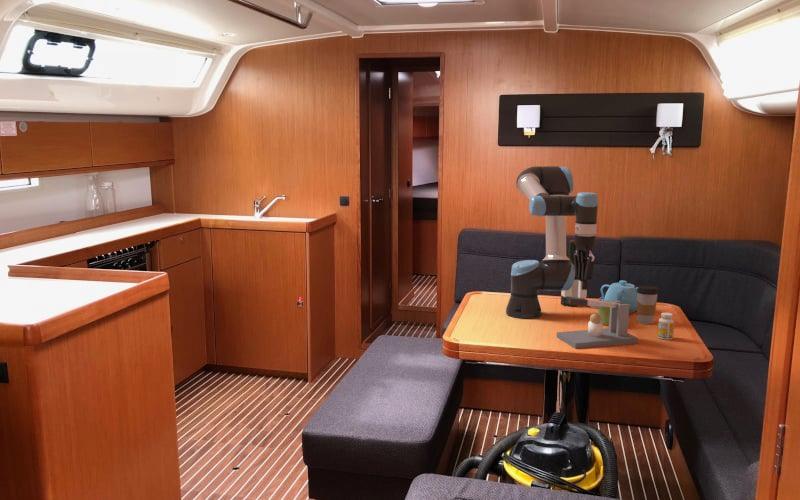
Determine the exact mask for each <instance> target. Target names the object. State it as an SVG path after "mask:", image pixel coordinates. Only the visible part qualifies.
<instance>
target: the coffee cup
mask: <svg viewBox="0 0 800 500" xmlns="http://www.w3.org/2000/svg"><path fill="white" fill-rule="evenodd" d="M637 287H638V289H637V310H636V315H637V319H636V320H637V322H638V323H639V324H642V325H643V324H644V325H651V324H652V325H653V323H654V322H655V321H654V320H655V315H656V308H657V303H658V295H659V291H658V287H657V286H654V285H649V284H648V285H646V284H645V285H644V284H641V285H638V286H637Z"/></svg>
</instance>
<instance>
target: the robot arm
mask: <svg viewBox="0 0 800 500" xmlns="http://www.w3.org/2000/svg"><path fill="white" fill-rule="evenodd" d="M515 184H516V185H515V186H516V188H517V190H518V191H519V193H520V194H522V195H523V196H525V197H526V198H527V200H528V201H529V203H528V210H529V214H530V215H531V216H534V217H535V216H536V217H537V216H538V217H545V257H544V258H543V259H542V263H540V261H538V260H536V259H526V260H525V259H524V260H520V261H517V262H515V263H513V264H512V265H511V271H510V272H511V273H510V296H509V300H508V302H507V305H506V306H505V307H506V308H505V309H506V310H505V311H506V312H505V314H506V315H507V316H509V317H511V318H512V317H513V318H517V319H536V318H540V317H541V316H542V308H541V304H540V300H539V292H541V291H542V292H543V291H544V292H545V291H547V292H549V291H550V292H551V291H552V292H557V291H558V292H561V291H564V290H569V289H570V288H571V287H572V285H573V282H574V278H575V277H577V278H578V280H579V283H578V298H584V299H586V298H587V295H588V294H587V290H588V282H589V281H592V278H593V272H594V267H595V263H596V260H597V255H594V254H593V252H594V251H593V247H594V246H596V242H597V236H596V234H597V227H598V226H597V223H598V222H597V221H598V206H599V194H598V193H596V192H591V191H590V192H589V191H588V192H586V191H582V192H581V191H580V192H578V193H577V194H575V195H570V194H572V193H573V190H574V178H573V174H572V171H571V169H570V168H569V167H567V166H559V165H555V166H535V165H534V166H530V167H527V168H526V169H523V170H522V171H521V172H520V173H519V174H518V176H517V178H516V181H515ZM567 217H575V221H574V222H575V225H574V234H575V235H574V239H573V240H574V244H575V245H576V246H577V247H576V251H573V256H574V265H573V264H571V263H570V259H569V258H568V255H567V219H566V218H567ZM574 266H575V267H574ZM574 268H575V269H574Z"/></svg>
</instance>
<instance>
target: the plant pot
mask: <svg viewBox="0 0 800 500" xmlns="http://www.w3.org/2000/svg"><path fill="white" fill-rule="evenodd" d="M608 302H611V301H608ZM597 314H599V315H600V317H601V321H600V322H602V326H607V327H609V320H610V307H602V309H597Z"/></svg>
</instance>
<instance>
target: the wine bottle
mask: <svg viewBox="0 0 800 500" xmlns="http://www.w3.org/2000/svg"><path fill="white" fill-rule="evenodd" d="M574 240H575V239H571V240H569V242H568V255H567V257H568V258H569V259H570V263H571V264H573V265H574V256H573V251H576V250H577V246H576V245H575V244H574ZM574 267H575V266H574ZM574 269H575V268H574ZM578 283H579V280H578V278H577V277H575V278H574V282H573V285H572V287H571V288H570V289H569V290H564V291H560V292H561V293H560V305H561V306H563V307H569V308H572V307H579V306H578V305H570V304H568V303H565V301H566V296H570V297H578Z"/></svg>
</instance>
